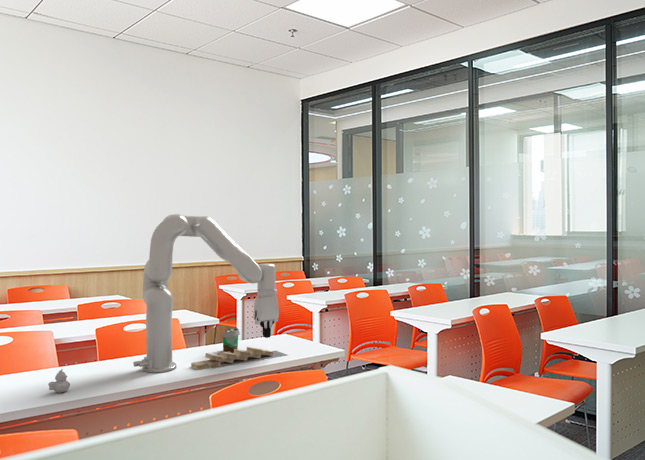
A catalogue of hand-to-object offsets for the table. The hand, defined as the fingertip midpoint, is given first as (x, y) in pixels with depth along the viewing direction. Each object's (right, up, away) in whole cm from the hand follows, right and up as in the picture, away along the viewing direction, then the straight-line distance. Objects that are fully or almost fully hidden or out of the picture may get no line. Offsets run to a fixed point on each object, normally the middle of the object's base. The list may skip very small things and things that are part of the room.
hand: (266, 337), depth 228 cm
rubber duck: (-64, -9, -47) cm, 80 cm away
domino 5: (+1, -7, +1) cm, 7 cm away
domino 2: (-14, -7, -10) cm, 18 cm away
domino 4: (-4, -7, -2) cm, 8 cm away
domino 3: (-8, -7, -6) cm, 13 cm away
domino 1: (-18, -7, -13) cm, 23 cm away
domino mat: (-8, -8, -6) cm, 12 cm away
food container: (-15, -8, +6) cm, 18 cm away
